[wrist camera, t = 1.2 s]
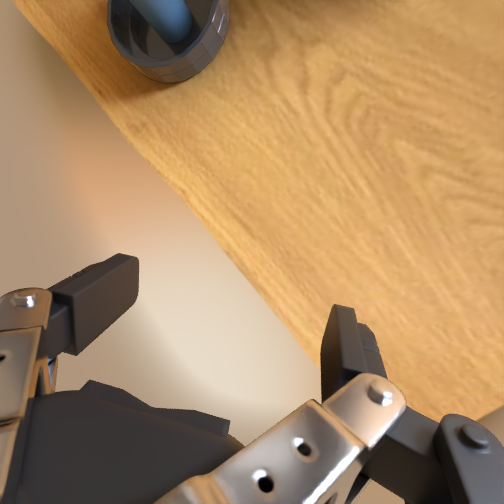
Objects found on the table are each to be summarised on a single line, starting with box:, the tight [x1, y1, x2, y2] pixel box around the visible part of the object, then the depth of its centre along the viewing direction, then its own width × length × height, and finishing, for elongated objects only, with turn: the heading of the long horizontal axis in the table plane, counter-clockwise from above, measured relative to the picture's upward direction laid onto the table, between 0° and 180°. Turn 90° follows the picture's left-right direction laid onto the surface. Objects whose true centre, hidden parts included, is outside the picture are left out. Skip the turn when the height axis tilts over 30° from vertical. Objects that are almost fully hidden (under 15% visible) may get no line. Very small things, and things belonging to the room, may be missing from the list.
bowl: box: [107, 0, 229, 83], centre depth 37 cm, size 14×14×4 cm
